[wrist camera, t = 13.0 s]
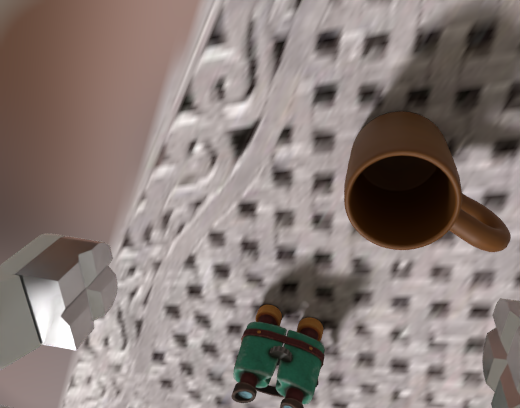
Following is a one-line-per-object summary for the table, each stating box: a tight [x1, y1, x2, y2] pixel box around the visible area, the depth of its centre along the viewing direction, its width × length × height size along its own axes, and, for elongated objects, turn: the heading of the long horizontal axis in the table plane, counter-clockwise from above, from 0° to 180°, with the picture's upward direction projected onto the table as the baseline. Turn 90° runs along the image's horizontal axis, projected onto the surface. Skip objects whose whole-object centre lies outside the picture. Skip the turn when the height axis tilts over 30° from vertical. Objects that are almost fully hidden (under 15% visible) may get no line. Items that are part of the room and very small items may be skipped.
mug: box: [344, 111, 510, 252], centre depth 33 cm, size 12×8×9 cm, turn 68°
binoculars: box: [232, 305, 325, 408], centre depth 45 cm, size 9×11×10 cm
